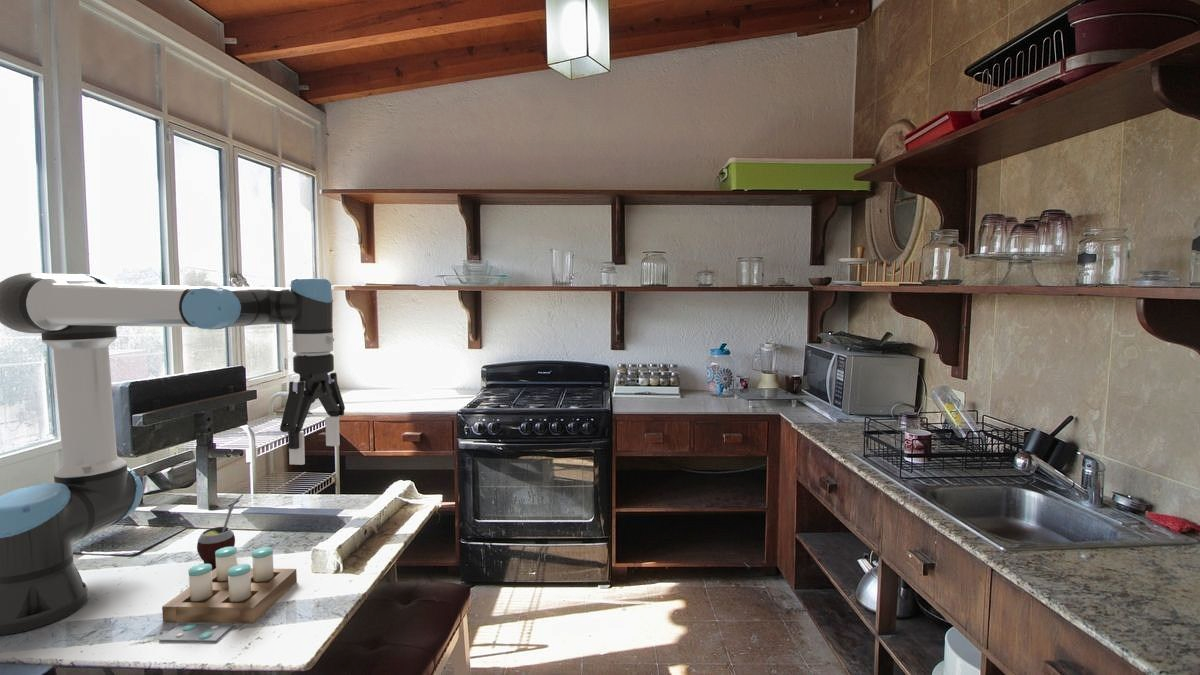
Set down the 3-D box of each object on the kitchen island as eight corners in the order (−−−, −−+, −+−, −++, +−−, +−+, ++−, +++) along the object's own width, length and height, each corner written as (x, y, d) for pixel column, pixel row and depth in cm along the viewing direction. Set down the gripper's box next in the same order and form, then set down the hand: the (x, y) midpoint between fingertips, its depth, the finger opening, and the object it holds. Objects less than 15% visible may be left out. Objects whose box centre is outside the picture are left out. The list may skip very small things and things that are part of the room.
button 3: (224, 601, 108) (223, 573, 108) (236, 591, 112) (235, 563, 112) (243, 602, 108) (242, 573, 108) (255, 591, 112) (254, 564, 112)
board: (162, 622, 107) (162, 606, 107) (217, 581, 122) (216, 567, 122) (253, 623, 107) (253, 607, 107) (296, 582, 122) (296, 568, 121)
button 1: (185, 601, 109) (183, 572, 108) (198, 591, 112) (197, 563, 112) (204, 601, 108) (203, 573, 108) (217, 591, 112) (216, 563, 112)
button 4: (249, 581, 116) (247, 555, 115) (259, 572, 120) (258, 546, 119) (267, 582, 116) (266, 555, 115) (277, 573, 120) (276, 547, 119)
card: (159, 641, 101) (159, 638, 101) (180, 625, 106) (180, 622, 106) (215, 642, 101) (215, 639, 101) (234, 626, 106) (234, 623, 106)
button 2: (212, 581, 116) (210, 554, 116) (224, 572, 120) (223, 546, 119) (230, 581, 116) (229, 554, 116) (241, 572, 120) (240, 546, 119)
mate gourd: (190, 573, 125) (187, 506, 124) (213, 556, 133) (210, 493, 132) (225, 573, 126) (222, 506, 124) (246, 556, 133) (244, 493, 132)
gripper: (296, 361, 106) (299, 473, 107) (359, 347, 130) (361, 439, 132) (256, 360, 106) (260, 472, 108) (327, 347, 131) (329, 438, 133)
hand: (316, 454), depth 120 cm, fingers open, 13 cm apart
